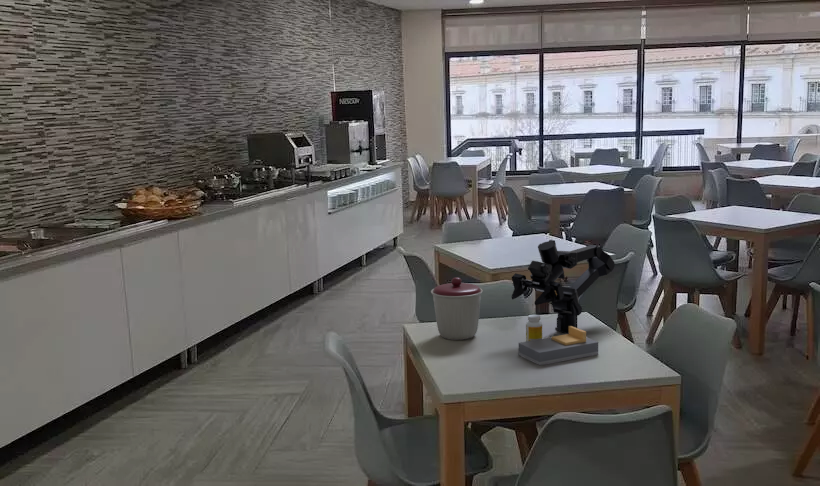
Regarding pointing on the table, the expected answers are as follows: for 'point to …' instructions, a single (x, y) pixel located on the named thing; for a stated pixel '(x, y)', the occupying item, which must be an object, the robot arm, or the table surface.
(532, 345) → the socket block
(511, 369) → the table surface
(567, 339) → the shutter
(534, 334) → the supplement bottle
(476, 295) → the canister
